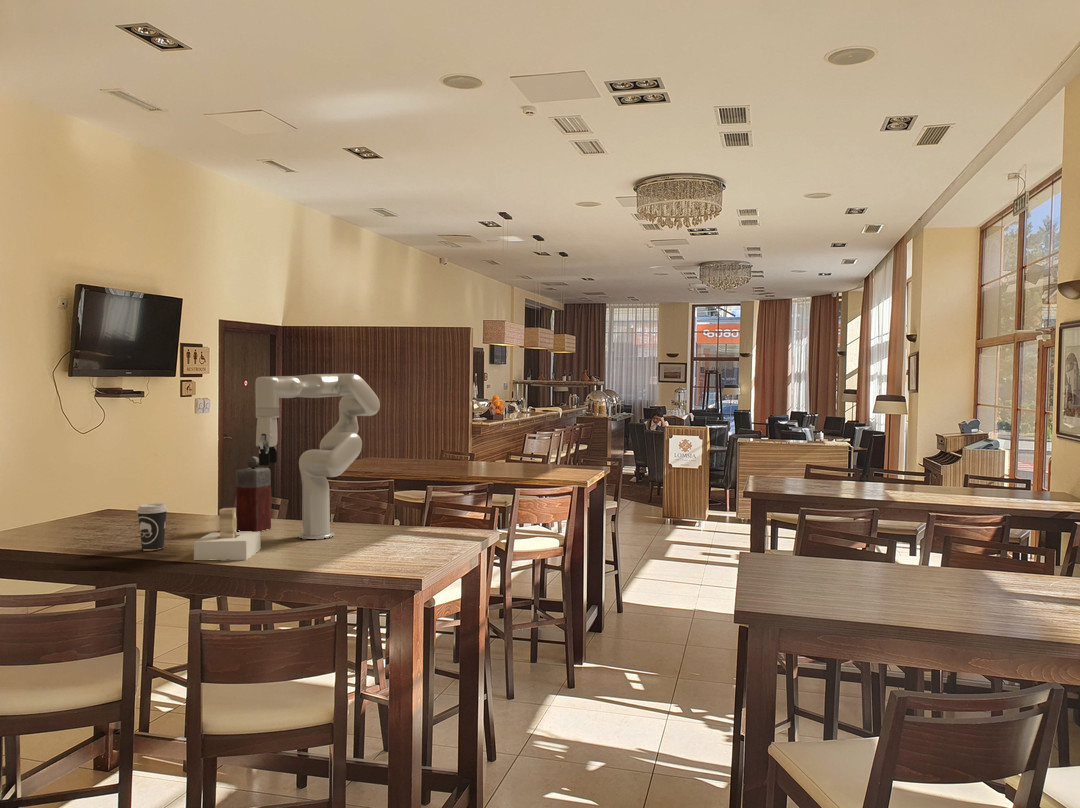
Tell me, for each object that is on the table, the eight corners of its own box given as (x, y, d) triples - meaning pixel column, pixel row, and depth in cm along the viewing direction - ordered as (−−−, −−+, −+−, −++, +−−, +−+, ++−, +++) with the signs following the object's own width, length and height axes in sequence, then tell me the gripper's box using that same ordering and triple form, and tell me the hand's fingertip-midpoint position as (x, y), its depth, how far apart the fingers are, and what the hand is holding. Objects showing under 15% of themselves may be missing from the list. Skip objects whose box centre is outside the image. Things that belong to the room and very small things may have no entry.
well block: (211, 550, 262) (211, 532, 262) (260, 549, 263) (260, 531, 263) (193, 561, 246) (193, 541, 246) (246, 559, 247) (246, 540, 247)
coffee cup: (169, 550, 262) (169, 505, 261) (137, 554, 257) (136, 508, 257) (167, 545, 270) (166, 502, 270) (136, 548, 265) (135, 504, 265)
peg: (223, 553, 256) (223, 508, 256) (236, 553, 257) (235, 507, 257) (220, 556, 252) (219, 509, 252) (233, 556, 253) (232, 509, 253)
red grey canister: (275, 527, 304) (274, 455, 304) (256, 532, 294) (256, 457, 293) (255, 526, 307) (254, 454, 306) (236, 531, 296) (235, 457, 295)
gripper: (263, 412, 274) (263, 461, 274) (248, 414, 256) (249, 466, 257) (285, 412, 274) (285, 461, 275) (272, 414, 257) (272, 466, 257)
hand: (268, 464), depth 266 cm, fingers open, 9 cm apart
